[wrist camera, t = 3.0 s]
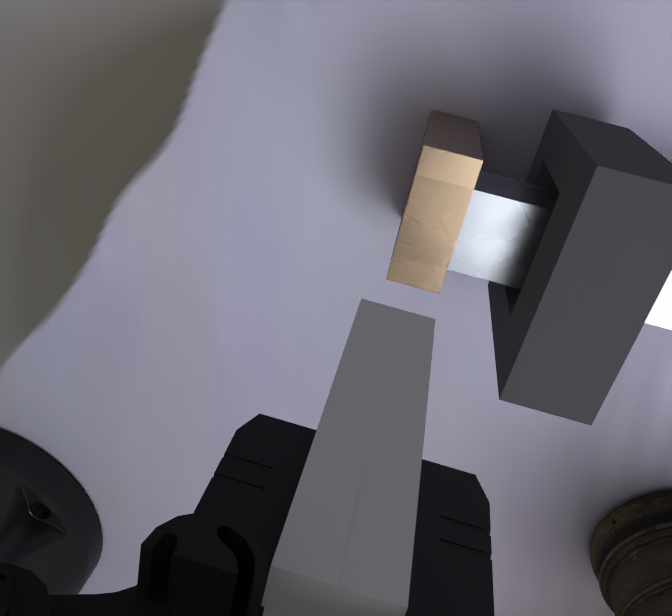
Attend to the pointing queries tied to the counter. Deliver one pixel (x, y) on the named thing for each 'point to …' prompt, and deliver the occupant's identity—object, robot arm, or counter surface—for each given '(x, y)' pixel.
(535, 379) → the collar
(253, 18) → the counter surface
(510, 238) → the bar
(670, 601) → the container
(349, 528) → the robot arm
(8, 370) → the counter surface
